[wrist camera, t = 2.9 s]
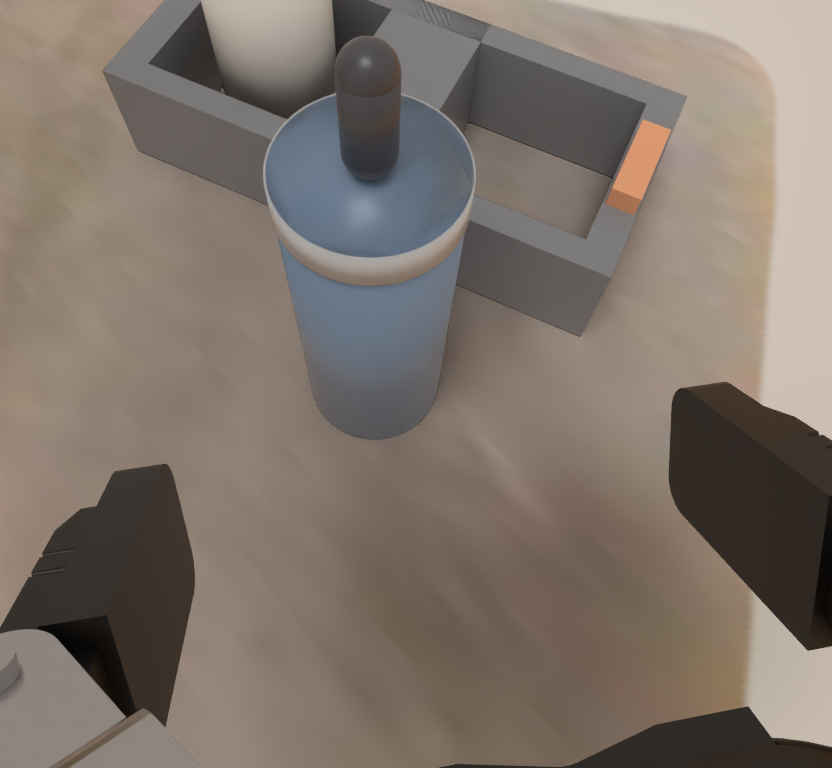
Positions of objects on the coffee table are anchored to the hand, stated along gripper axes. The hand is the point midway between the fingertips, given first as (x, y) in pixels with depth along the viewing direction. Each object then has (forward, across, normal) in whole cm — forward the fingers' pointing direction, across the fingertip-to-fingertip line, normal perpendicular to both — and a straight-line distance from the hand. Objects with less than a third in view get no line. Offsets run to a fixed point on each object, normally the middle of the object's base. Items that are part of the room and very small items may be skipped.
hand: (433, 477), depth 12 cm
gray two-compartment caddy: (+20, -2, -3) cm, 21 cm away
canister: (+14, 0, +4) cm, 14 cm away
